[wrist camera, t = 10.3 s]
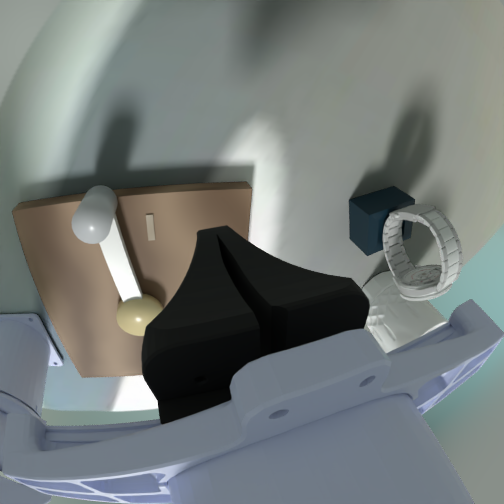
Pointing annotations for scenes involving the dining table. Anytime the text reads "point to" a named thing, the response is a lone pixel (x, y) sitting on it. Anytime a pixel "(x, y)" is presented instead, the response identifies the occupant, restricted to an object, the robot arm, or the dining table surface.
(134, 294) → the lever
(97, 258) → the brown wooden board
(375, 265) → the dining table surface
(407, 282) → the watch
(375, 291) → the white cup
